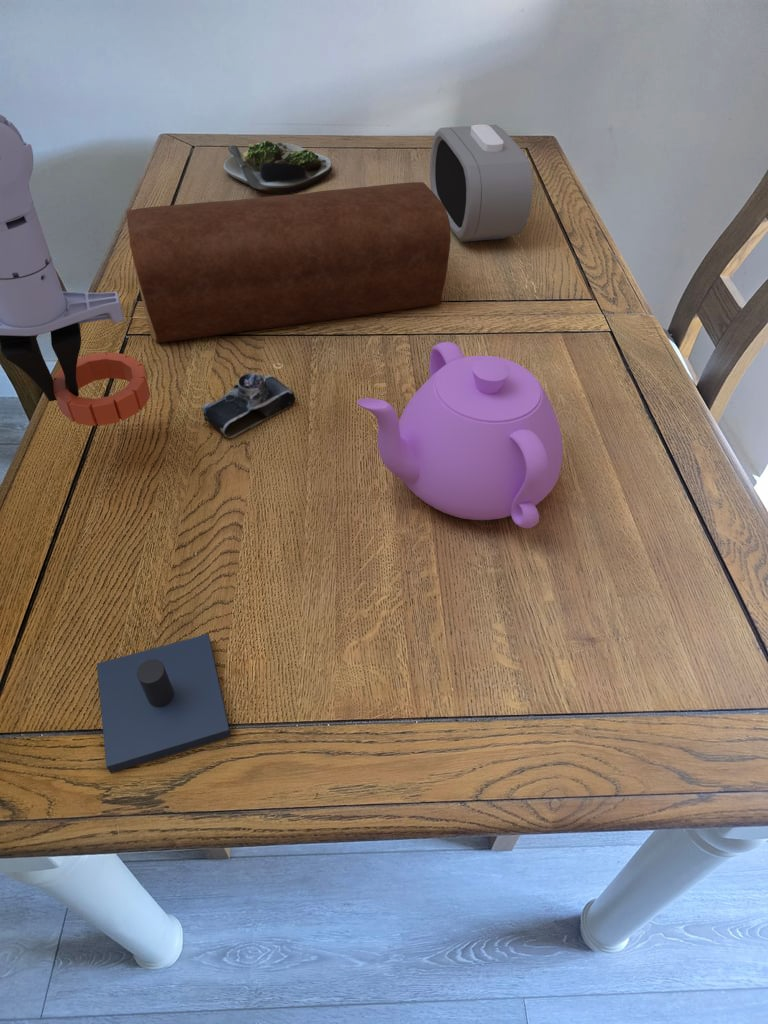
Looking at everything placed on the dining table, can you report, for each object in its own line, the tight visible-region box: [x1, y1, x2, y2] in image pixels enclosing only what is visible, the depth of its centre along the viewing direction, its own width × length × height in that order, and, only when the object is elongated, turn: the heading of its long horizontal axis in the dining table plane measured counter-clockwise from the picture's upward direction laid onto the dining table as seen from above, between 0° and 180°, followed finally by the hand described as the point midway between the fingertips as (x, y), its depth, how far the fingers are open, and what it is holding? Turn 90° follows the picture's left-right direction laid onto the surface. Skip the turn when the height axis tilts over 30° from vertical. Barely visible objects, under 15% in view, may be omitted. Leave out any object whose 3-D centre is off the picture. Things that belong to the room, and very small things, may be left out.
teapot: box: [356, 341, 563, 529], centre depth 69 cm, size 22×22×14 cm
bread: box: [125, 181, 452, 344], centre depth 92 cm, size 16×39×13 cm, turn 107°
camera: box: [201, 372, 297, 439], centre depth 79 cm, size 5×10×4 cm, turn 133°
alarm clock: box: [429, 124, 534, 243], centre depth 109 cm, size 21×10×13 cm, turn 13°
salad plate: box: [223, 140, 333, 196], centre depth 123 cm, size 19×18×5 cm
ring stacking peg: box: [96, 633, 232, 774], centre depth 54 cm, size 9×9×5 cm
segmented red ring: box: [53, 351, 151, 427], centre depth 70 cm, size 8×8×2 cm
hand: (63, 392), depth 69 cm, fingers closed on segmented red ring, 1 cm apart
